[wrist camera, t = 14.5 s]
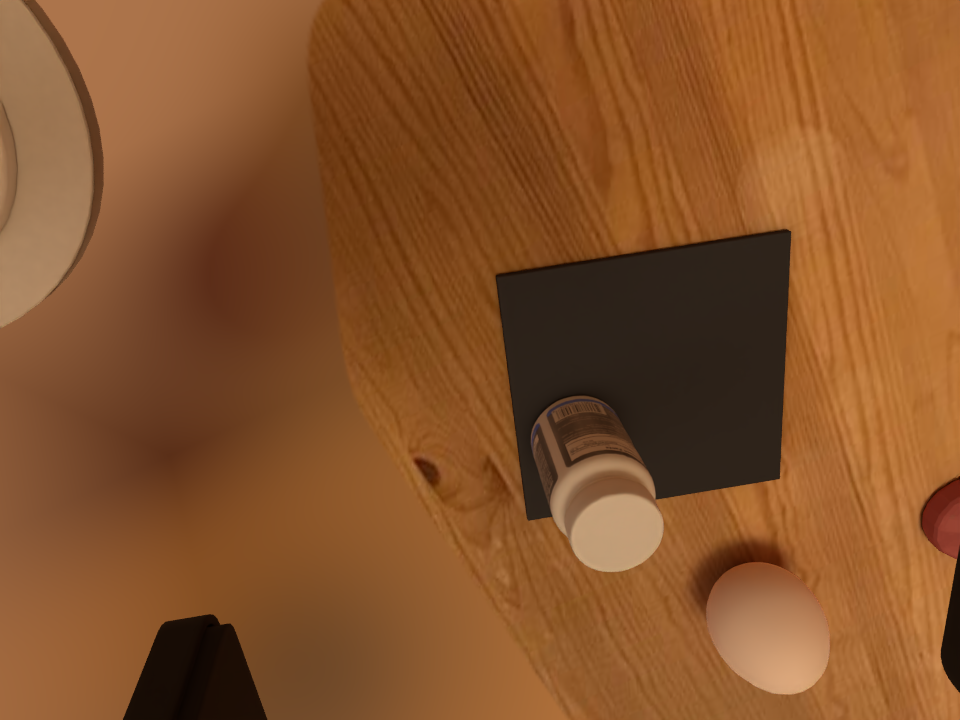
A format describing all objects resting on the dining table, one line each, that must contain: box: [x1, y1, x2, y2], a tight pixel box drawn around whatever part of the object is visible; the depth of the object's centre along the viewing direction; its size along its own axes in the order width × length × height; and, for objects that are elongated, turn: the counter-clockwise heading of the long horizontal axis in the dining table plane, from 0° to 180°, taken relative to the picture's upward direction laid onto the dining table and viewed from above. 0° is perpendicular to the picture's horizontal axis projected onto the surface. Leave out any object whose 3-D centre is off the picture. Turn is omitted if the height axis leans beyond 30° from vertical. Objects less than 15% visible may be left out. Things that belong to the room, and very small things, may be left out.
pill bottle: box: [531, 396, 664, 572], centre depth 35 cm, size 5×5×8 cm
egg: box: [706, 562, 830, 694], centre depth 41 cm, size 6×6×8 cm
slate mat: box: [496, 230, 791, 521], centre depth 38 cm, size 14×14×1 cm
